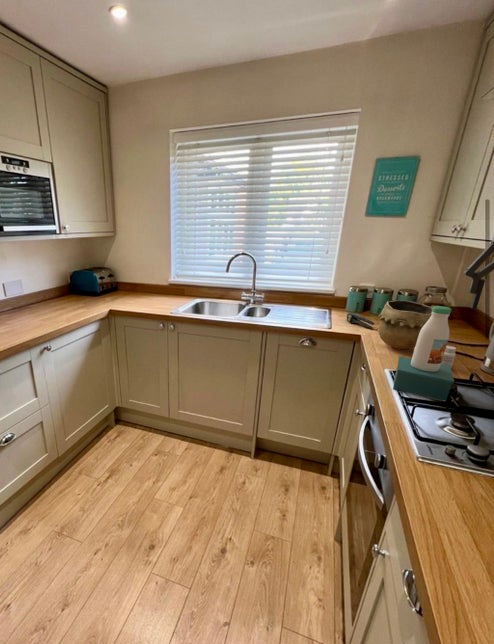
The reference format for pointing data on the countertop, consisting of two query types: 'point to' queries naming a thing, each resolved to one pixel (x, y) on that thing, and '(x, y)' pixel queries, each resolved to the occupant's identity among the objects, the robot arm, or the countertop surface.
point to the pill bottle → (449, 356)
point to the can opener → (356, 319)
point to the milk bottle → (432, 341)
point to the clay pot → (402, 323)
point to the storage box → (423, 380)
